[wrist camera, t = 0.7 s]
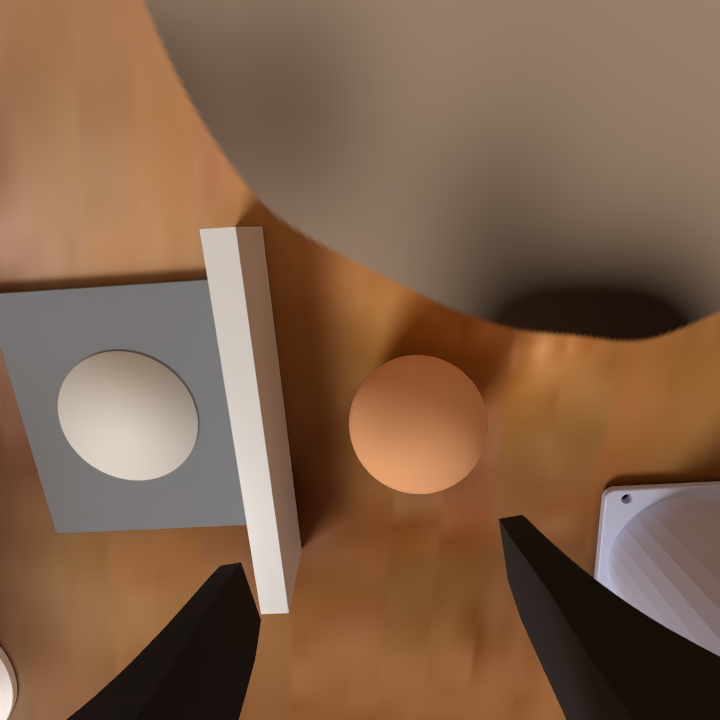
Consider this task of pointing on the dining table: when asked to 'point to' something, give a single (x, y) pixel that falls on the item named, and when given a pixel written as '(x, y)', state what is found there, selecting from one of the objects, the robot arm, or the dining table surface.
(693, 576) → the robot arm
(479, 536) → the dining table surface
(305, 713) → the dining table surface
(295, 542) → the fence
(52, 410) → the mat
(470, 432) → the ball
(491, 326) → the dining table surface
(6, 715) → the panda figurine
